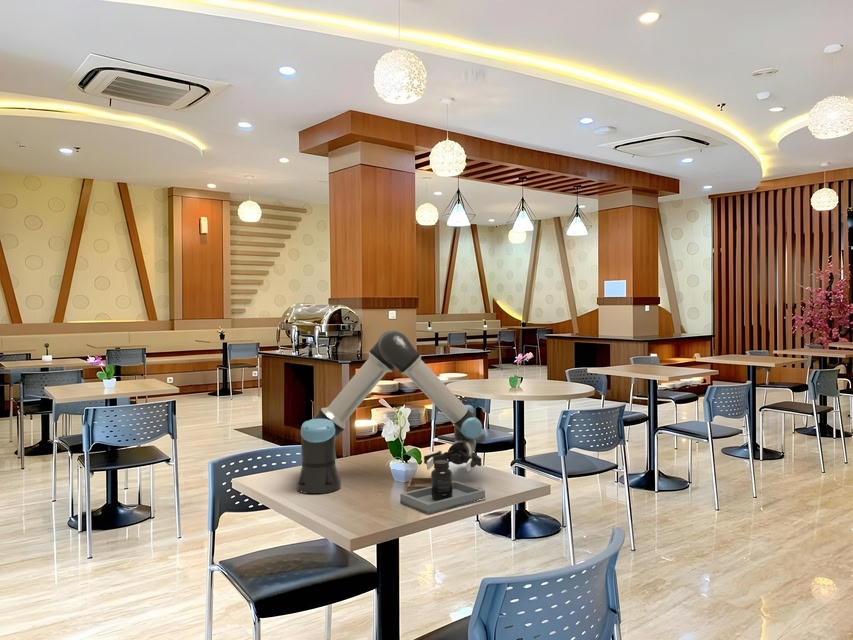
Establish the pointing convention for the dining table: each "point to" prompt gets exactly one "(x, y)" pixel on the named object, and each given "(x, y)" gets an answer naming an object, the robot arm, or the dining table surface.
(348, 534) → the dining table surface
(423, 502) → the parts tray
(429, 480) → the square wooden tray
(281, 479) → the dining table surface
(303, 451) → the robot arm
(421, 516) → the dining table surface
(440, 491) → the supplement bottle
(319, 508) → the dining table surface
